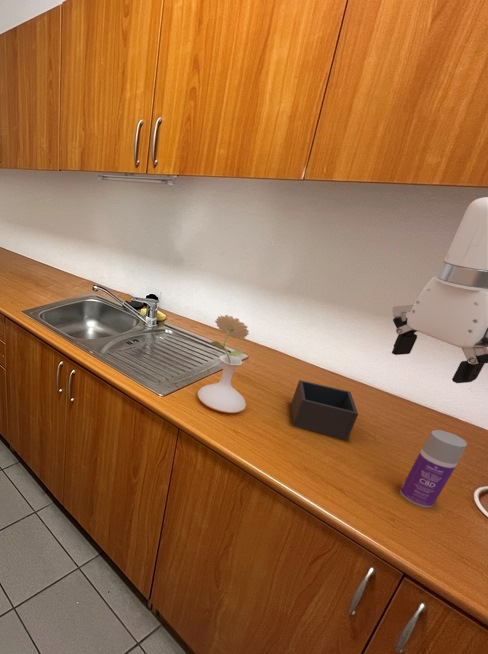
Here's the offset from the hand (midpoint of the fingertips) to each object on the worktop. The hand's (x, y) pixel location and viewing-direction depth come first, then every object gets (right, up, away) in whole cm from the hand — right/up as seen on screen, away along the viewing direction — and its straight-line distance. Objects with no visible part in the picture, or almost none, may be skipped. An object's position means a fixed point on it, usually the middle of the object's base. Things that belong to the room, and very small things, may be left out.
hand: (429, 366), depth 71 cm
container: (+6, -27, +8) cm, 29 cm away
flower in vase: (-16, -15, +37) cm, 43 cm away
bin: (+4, -18, +29) cm, 35 cm away
